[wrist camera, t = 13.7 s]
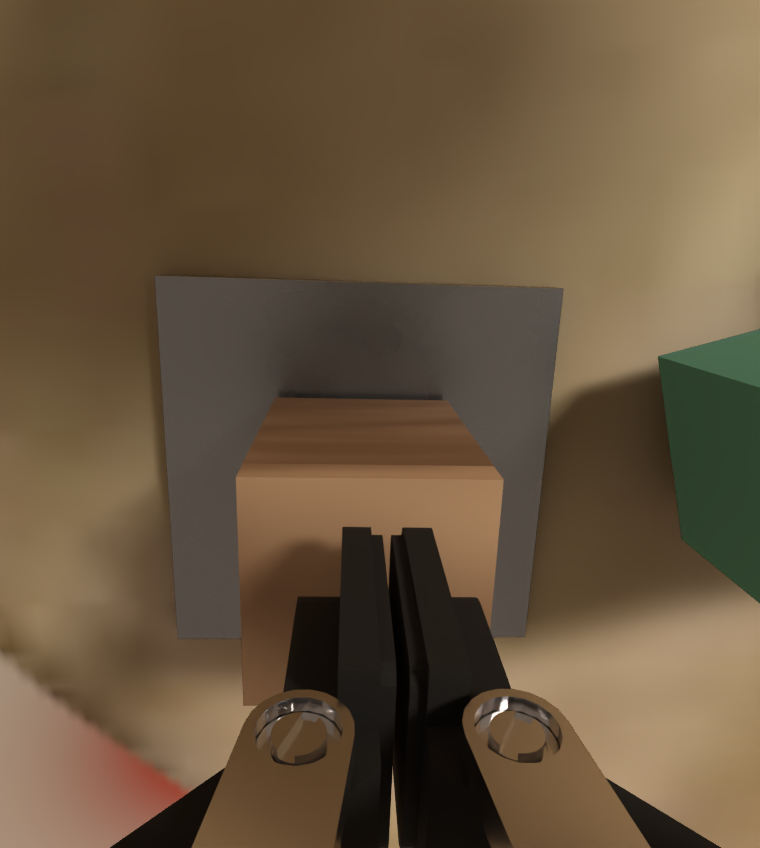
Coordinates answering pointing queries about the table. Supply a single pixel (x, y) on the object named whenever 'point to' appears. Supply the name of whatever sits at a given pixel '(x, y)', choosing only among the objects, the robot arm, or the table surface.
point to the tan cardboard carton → (353, 509)
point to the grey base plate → (344, 379)
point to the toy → (717, 451)
